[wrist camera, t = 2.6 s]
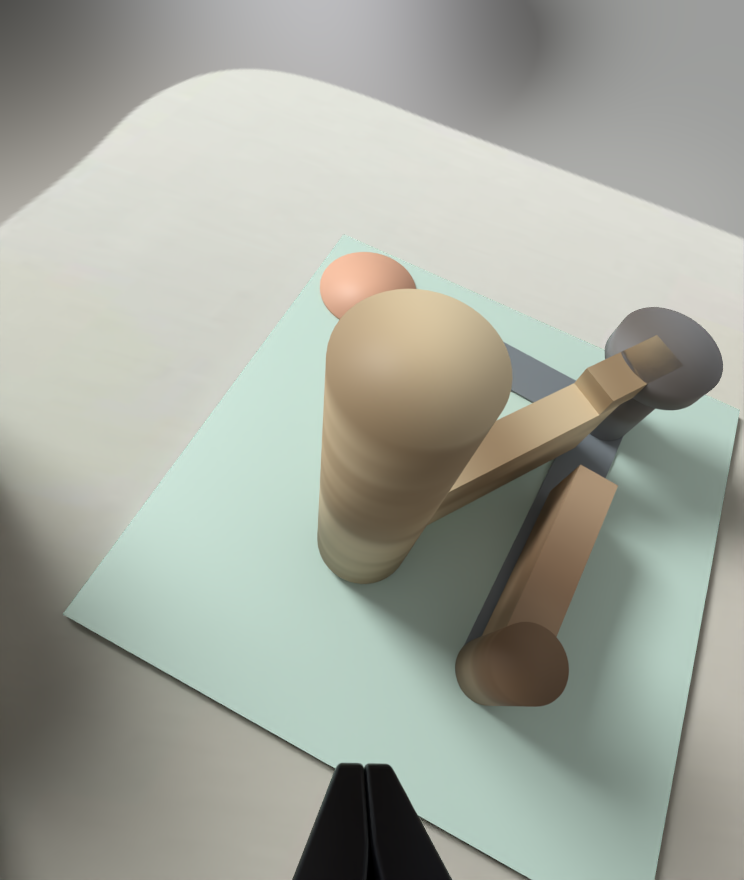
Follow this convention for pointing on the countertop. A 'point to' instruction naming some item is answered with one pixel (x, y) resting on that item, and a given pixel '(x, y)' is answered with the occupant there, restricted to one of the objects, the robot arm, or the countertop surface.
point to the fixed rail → (543, 589)
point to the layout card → (433, 598)
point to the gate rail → (463, 415)
